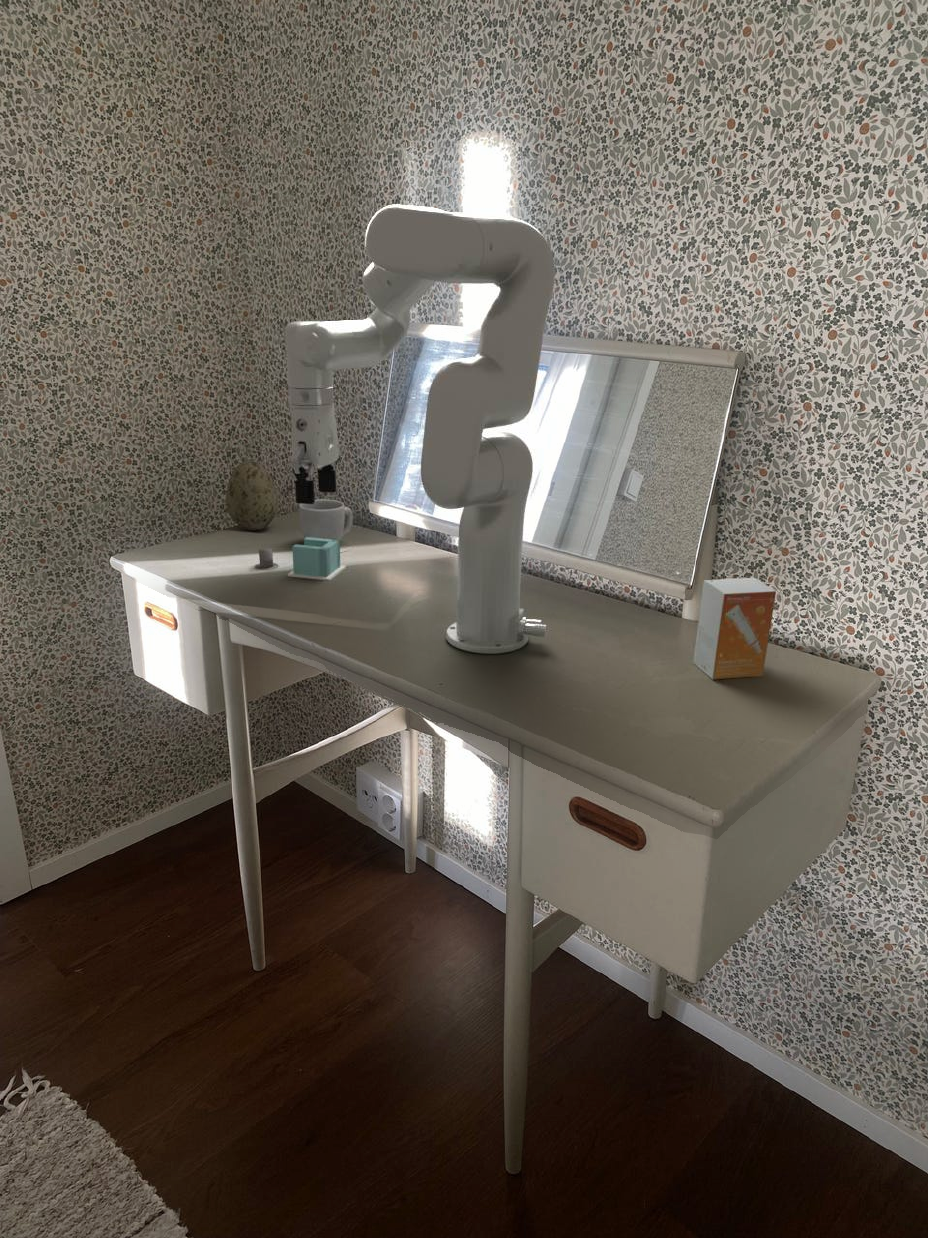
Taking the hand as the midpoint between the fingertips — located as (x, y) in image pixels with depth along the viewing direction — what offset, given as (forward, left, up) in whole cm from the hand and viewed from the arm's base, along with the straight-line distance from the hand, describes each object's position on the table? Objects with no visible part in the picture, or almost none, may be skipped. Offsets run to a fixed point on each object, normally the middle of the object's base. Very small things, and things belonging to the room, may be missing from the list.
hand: (316, 497), depth 163 cm
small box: (-71, +20, -16) cm, 76 cm away
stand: (+6, 0, -15) cm, 16 cm away
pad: (+1, 0, -14) cm, 14 cm away
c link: (+1, 0, -14) cm, 13 cm away
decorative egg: (+27, -27, -16) cm, 41 cm away
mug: (+6, -18, -16) cm, 25 cm away
